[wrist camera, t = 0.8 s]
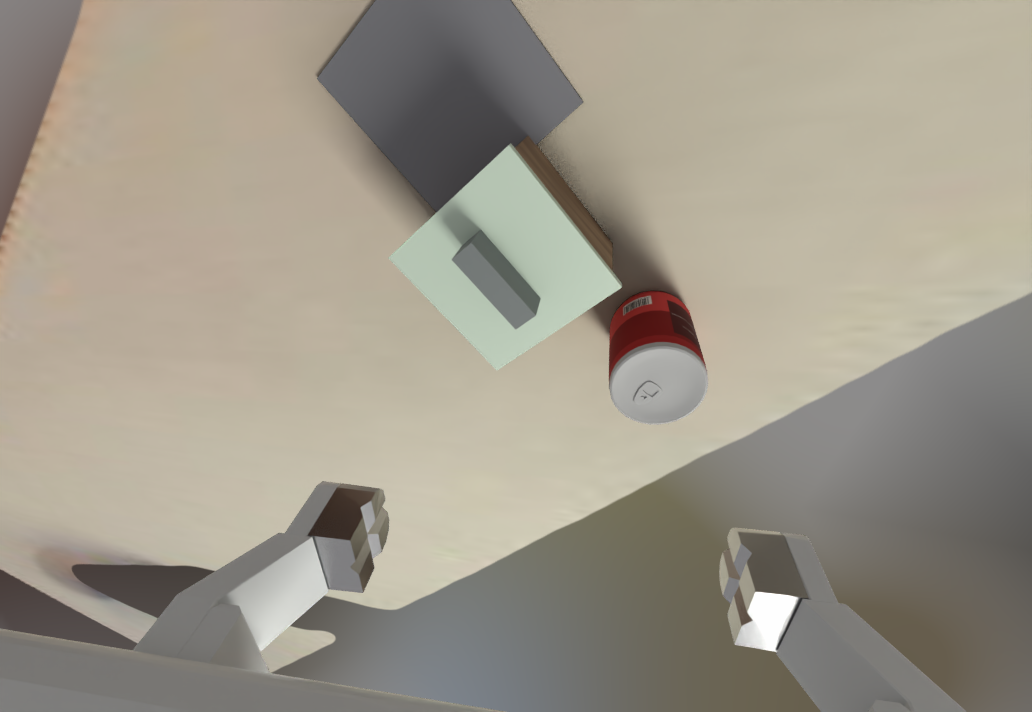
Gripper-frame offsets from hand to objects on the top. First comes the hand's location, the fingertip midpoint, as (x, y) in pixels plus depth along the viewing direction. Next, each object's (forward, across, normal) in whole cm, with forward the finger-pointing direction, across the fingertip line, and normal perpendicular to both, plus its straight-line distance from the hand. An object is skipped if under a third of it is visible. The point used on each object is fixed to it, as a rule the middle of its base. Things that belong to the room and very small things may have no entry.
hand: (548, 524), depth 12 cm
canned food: (+38, -7, +13) cm, 40 cm away
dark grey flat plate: (+37, +12, -8) cm, 40 cm away
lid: (+30, +6, +4) cm, 31 cm away
